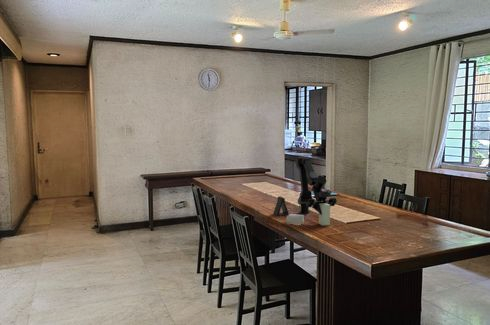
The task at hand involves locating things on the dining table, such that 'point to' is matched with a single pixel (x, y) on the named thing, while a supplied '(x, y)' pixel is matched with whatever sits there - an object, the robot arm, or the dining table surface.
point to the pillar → (324, 214)
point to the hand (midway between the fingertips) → (325, 214)
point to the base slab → (294, 222)
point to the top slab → (295, 218)
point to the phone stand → (278, 206)
